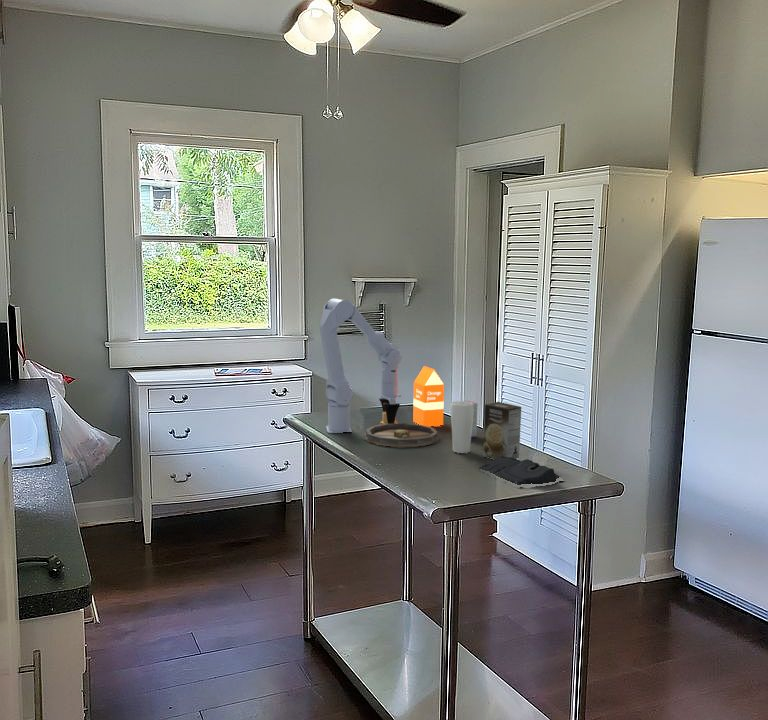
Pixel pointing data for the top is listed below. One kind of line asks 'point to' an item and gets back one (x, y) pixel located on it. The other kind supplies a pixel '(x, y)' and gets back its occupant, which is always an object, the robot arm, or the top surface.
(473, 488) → the top surface
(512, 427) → the coffee box
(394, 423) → the planet gear
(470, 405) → the drinking glass
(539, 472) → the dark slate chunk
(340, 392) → the robot arm
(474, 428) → the supplement box
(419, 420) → the orange juice
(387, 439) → the wooden tray
